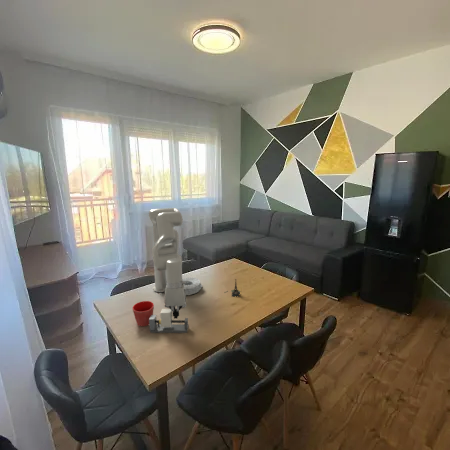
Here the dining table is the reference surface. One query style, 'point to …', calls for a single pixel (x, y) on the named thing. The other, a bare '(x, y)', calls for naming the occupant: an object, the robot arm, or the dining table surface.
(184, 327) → the grey slider rail
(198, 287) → the cable
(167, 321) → the white sliding block
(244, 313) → the dining table surface
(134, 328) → the dining table surface
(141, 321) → the flower pot
